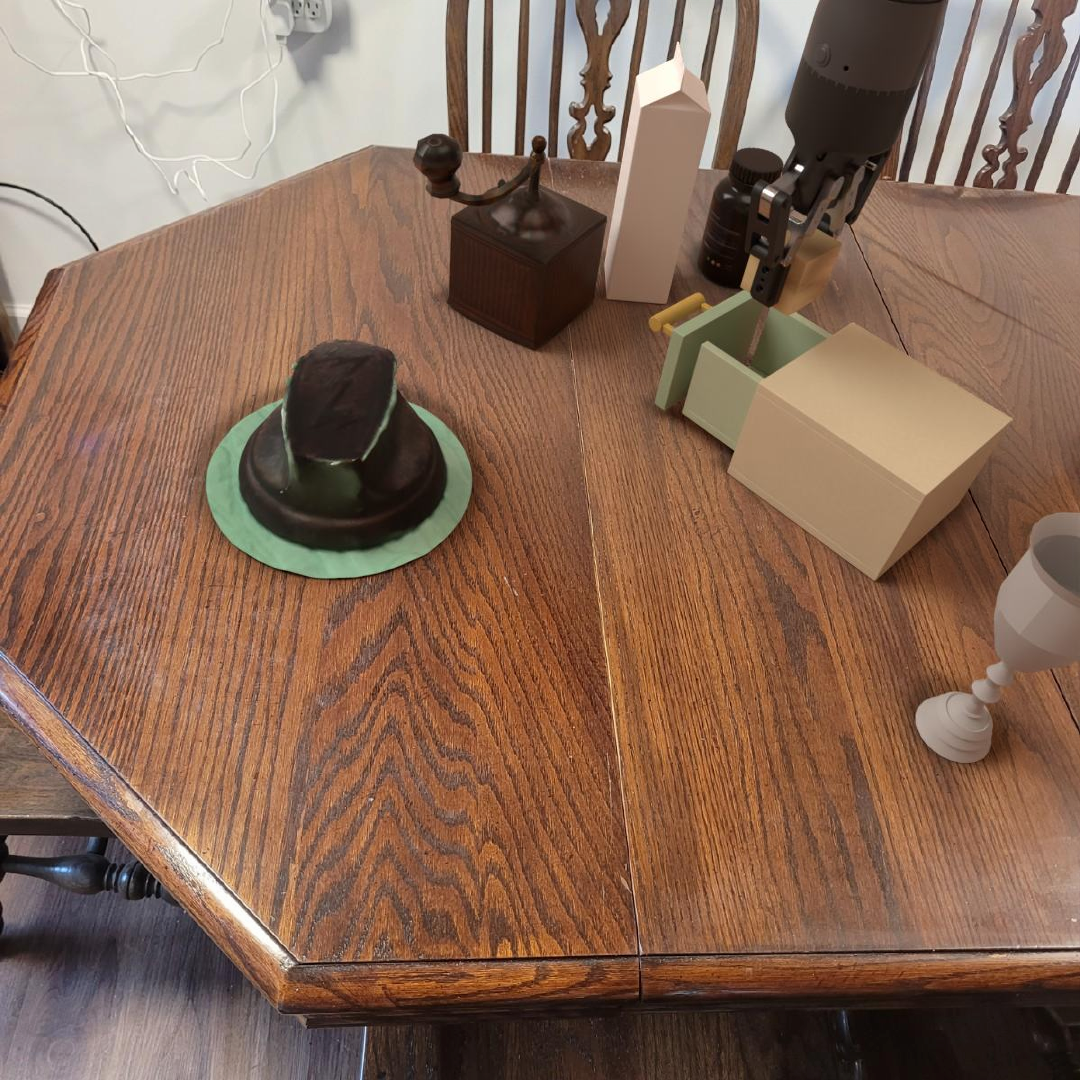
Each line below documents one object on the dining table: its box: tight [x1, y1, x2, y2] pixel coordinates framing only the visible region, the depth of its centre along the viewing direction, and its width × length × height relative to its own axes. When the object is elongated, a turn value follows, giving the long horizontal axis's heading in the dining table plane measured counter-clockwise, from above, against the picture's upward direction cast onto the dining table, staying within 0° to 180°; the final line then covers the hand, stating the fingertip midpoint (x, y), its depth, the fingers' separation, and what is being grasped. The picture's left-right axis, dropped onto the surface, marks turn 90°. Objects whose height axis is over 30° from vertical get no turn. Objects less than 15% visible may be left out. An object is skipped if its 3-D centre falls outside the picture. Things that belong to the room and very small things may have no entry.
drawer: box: [648, 289, 833, 451], centre depth 79 cm, size 18×11×8 cm, turn 44°
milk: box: [603, 41, 712, 305], centre depth 85 cm, size 6×6×22 cm
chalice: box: [915, 511, 1080, 764], centre depth 56 cm, size 7×7×18 cm
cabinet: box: [727, 321, 1013, 582], centre depth 74 cm, size 15×13×10 cm
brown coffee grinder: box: [412, 133, 608, 350], centre depth 81 cm, size 16×11×18 cm
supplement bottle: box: [697, 146, 785, 288], centre depth 92 cm, size 7×7×12 cm
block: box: [740, 215, 843, 316], centre depth 71 cm, size 5×5×5 cm
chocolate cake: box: [205, 338, 473, 579], centre depth 71 cm, size 15×19×20 cm
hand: (783, 288), depth 72 cm, fingers closed on block, 4 cm apart
